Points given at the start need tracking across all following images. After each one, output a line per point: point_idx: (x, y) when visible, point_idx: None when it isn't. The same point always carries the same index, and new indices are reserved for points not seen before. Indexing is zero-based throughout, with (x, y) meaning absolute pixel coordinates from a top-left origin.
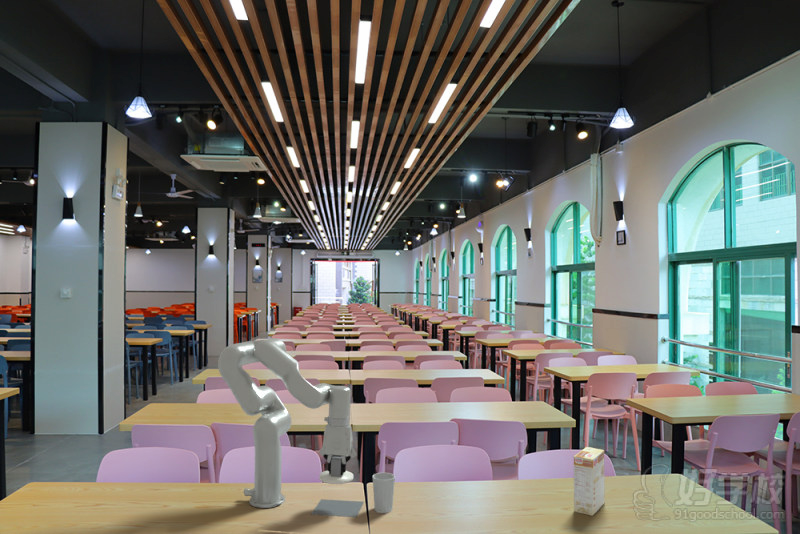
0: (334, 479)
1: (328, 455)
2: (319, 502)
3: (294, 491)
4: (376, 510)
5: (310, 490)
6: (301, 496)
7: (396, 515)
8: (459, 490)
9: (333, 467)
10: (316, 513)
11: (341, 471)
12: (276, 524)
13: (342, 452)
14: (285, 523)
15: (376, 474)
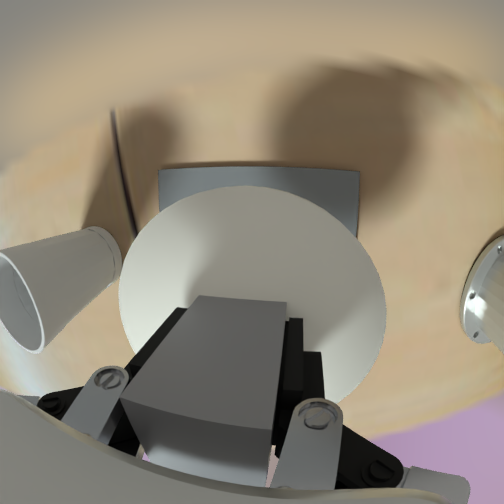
0: (232, 232)
1: (326, 485)
2: None
3: (427, 381)
4: (105, 236)
5: (381, 398)
6: (410, 353)
7: (62, 224)
8: (31, 371)
9: (248, 349)
10: (337, 182)
11: (172, 322)
12: (447, 94)
13: (6, 441)
14: (425, 99)
15: (43, 339)
